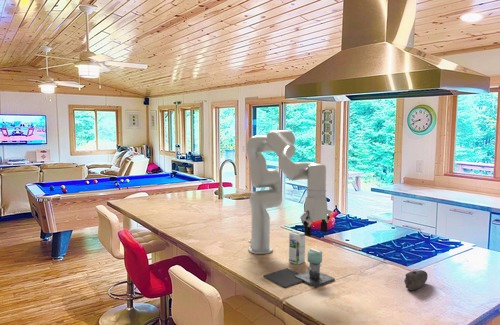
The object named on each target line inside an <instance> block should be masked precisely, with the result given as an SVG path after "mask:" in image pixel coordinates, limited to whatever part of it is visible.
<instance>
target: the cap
mask: <svg viewBox="0 0 500 325" xmlns="http://www.w3.org/2000/svg"><path fill="white" fill-rule="evenodd" d="M307 262H308V263H309V264H310V263H313V264H319V263H320V264H322V263H323V251H322V250H319V249H315V248H312V247H311V248H309V250H307Z"/></svg>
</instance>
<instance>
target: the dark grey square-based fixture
mask: <svg viewBox="0 0 500 325" xmlns="http://www.w3.org/2000/svg"><path fill="white" fill-rule="evenodd" d="M321 267H322V263H319V264H313V263H310V262H309V265H308V267H307V271H304V272H301V273H299V274H298V275H295V276H294V277H296V278H298V279H300V280H303V282H302V283H304V284H306V285H308V286H310V287H311V288H318V287H321V286H323V285H327V284H328V283H329V284H330V283H331V282H334V281H336V279H335V277H333V276H331V275H328V274H326V273H325V272H324V273H323V272H321Z"/></svg>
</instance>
